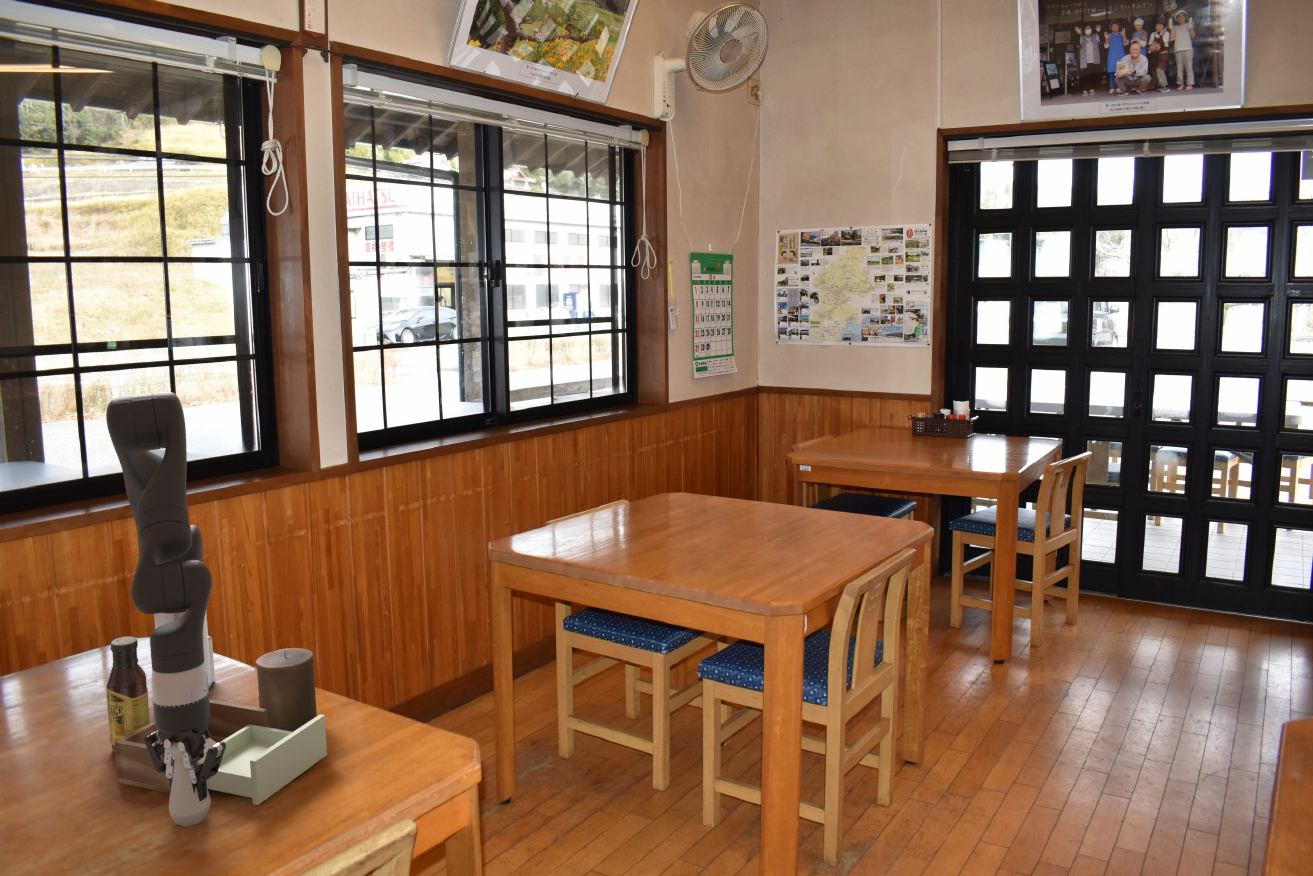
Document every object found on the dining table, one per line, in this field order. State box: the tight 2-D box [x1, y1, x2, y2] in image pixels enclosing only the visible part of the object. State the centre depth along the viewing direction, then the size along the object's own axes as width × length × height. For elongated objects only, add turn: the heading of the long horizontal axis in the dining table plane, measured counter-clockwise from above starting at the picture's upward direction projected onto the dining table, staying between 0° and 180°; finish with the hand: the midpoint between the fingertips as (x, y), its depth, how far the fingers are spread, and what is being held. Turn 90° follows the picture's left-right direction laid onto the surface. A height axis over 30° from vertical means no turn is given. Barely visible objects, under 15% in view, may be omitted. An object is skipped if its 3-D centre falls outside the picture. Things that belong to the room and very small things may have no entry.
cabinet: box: [114, 698, 269, 794], centre depth 165 cm, size 18×15×7 cm
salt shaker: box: [168, 742, 212, 828], centre depth 148 cm, size 6×6×13 cm
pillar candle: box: [255, 647, 318, 732], centre depth 178 cm, size 10×10×15 cm
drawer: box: [206, 713, 328, 806], centre depth 161 cm, size 17×15×7 cm
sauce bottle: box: [105, 636, 151, 753], centre depth 170 cm, size 7×6×20 cm
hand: (189, 800), depth 148 cm, fingers closed on salt shaker, 3 cm apart
